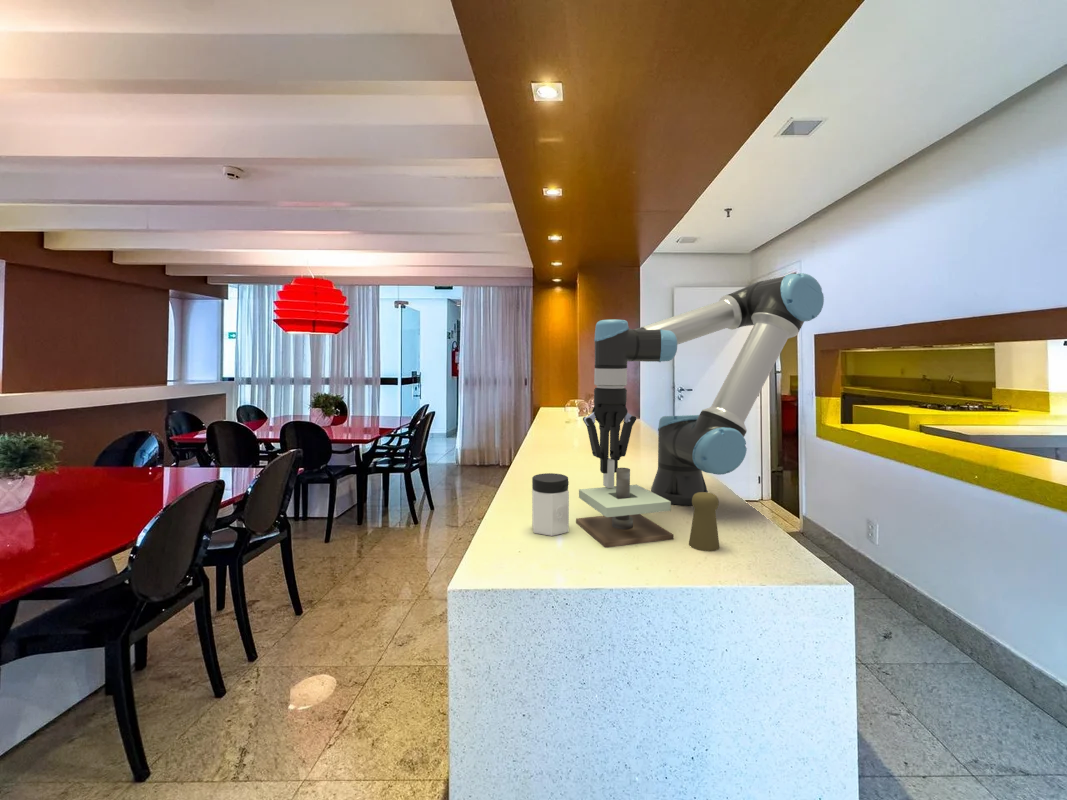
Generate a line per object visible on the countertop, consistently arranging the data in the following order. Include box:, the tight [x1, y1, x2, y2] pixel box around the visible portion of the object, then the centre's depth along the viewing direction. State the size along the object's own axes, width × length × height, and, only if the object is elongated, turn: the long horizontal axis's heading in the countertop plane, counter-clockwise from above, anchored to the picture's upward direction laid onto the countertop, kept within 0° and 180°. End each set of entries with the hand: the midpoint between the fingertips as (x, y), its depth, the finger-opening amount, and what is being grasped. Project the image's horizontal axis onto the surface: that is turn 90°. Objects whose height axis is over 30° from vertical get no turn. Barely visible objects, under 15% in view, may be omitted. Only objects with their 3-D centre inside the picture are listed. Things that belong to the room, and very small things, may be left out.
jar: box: [531, 472, 570, 537], centre depth 111 cm, size 9×8×12 cm
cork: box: [688, 491, 720, 552], centre depth 101 cm, size 6×6×11 cm
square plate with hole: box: [578, 484, 672, 517], centre depth 110 cm, size 15×15×2 cm
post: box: [575, 467, 674, 548], centre depth 110 cm, size 16×16×14 cm
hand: (608, 486), depth 117 cm, fingers closed
